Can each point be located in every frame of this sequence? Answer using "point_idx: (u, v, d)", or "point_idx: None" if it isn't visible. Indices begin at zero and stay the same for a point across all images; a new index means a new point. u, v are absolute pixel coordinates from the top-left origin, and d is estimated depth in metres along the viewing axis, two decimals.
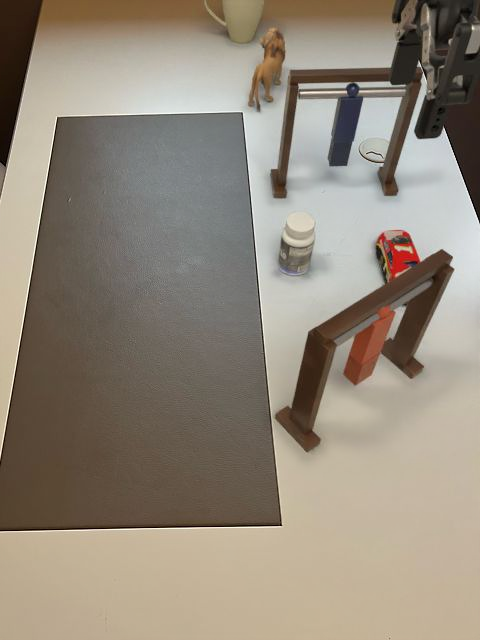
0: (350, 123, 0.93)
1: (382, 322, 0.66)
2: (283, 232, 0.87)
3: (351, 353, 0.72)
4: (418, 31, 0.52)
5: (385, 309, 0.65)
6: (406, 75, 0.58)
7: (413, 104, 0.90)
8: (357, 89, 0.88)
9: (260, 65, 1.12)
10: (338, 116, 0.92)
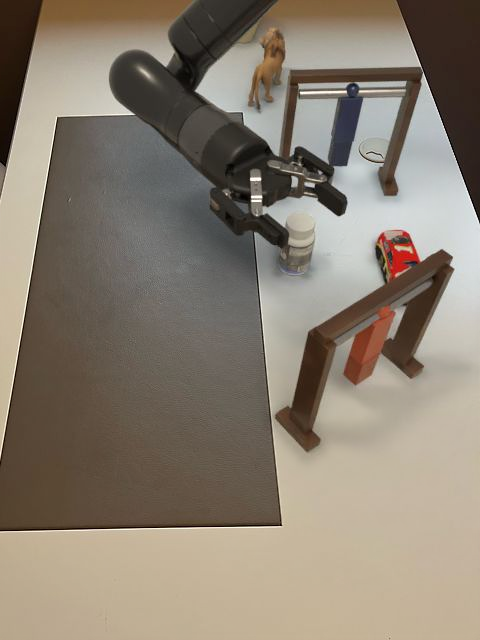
0: (350, 123, 0.93)
1: (382, 322, 0.66)
2: None
3: (351, 353, 0.72)
4: None
5: (385, 309, 0.65)
6: (337, 203, 0.69)
7: (413, 104, 0.90)
8: (357, 89, 0.88)
9: (260, 65, 1.12)
10: (338, 116, 0.92)
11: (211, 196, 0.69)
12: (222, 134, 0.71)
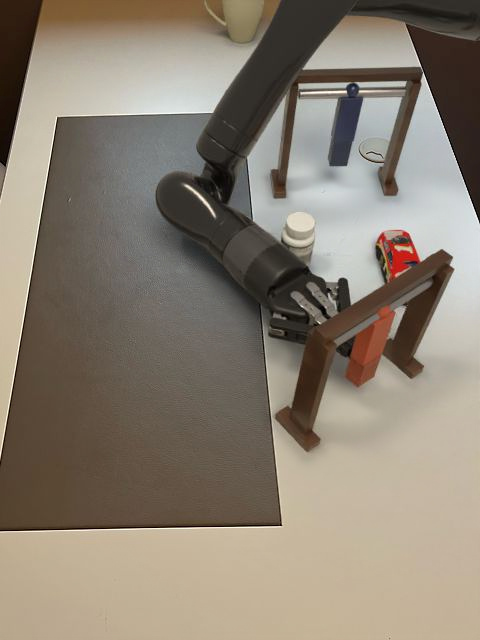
0: (350, 123, 0.93)
1: (382, 322, 0.66)
2: (283, 232, 0.87)
3: (352, 354, 0.72)
4: None
5: (384, 308, 0.65)
6: None
7: (413, 104, 0.90)
8: (357, 89, 0.88)
9: None
10: (338, 116, 0.92)
11: (274, 327, 0.75)
12: (264, 258, 0.77)
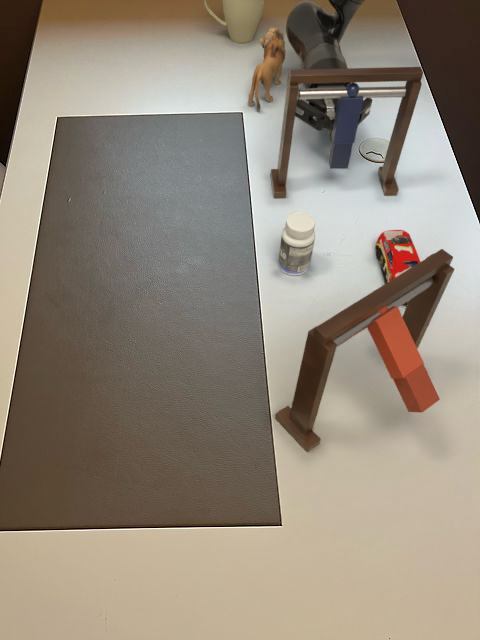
0: (351, 124, 0.92)
1: (384, 316, 0.65)
2: (283, 232, 0.87)
3: (391, 375, 0.67)
4: None
5: None
6: None
7: (413, 104, 0.90)
8: (357, 89, 0.88)
9: (260, 65, 1.12)
10: (338, 116, 0.91)
11: (297, 105, 1.01)
12: (321, 62, 1.03)
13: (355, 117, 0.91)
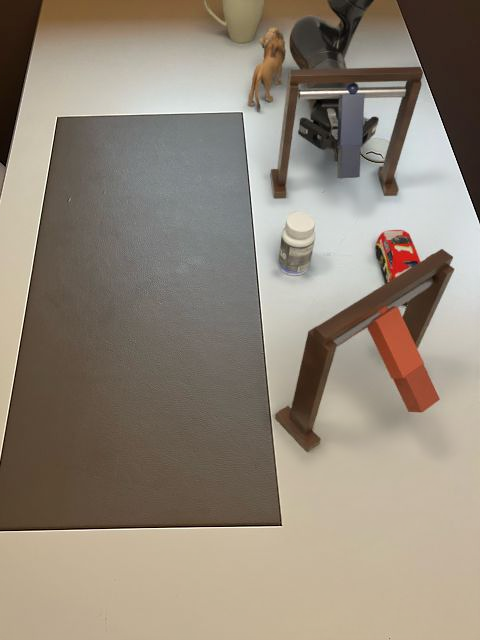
0: (356, 123, 0.90)
1: (384, 316, 0.65)
2: (283, 232, 0.87)
3: (391, 375, 0.67)
4: None
5: None
6: None
7: (413, 104, 0.90)
8: (356, 85, 0.89)
9: (260, 65, 1.12)
10: (342, 115, 0.89)
11: (301, 123, 0.98)
12: None
13: (359, 115, 0.89)
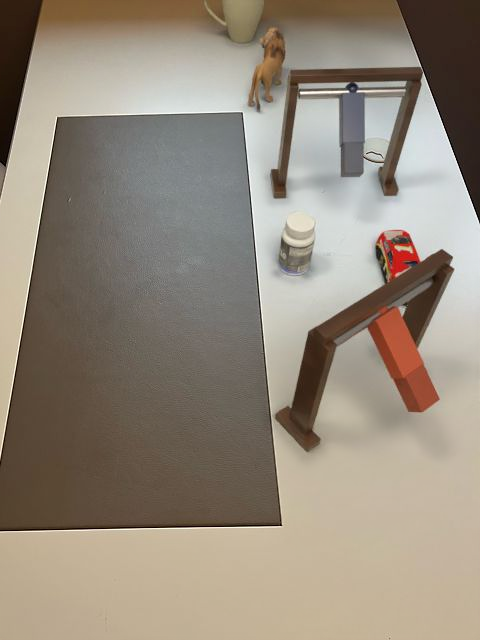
0: (357, 120, 0.89)
1: (384, 316, 0.65)
2: (283, 232, 0.87)
3: (391, 375, 0.67)
4: None
5: None
6: None
7: (413, 104, 0.90)
8: (356, 84, 0.89)
9: (260, 65, 1.12)
10: (343, 112, 0.89)
11: None
12: None
13: (360, 112, 0.89)
